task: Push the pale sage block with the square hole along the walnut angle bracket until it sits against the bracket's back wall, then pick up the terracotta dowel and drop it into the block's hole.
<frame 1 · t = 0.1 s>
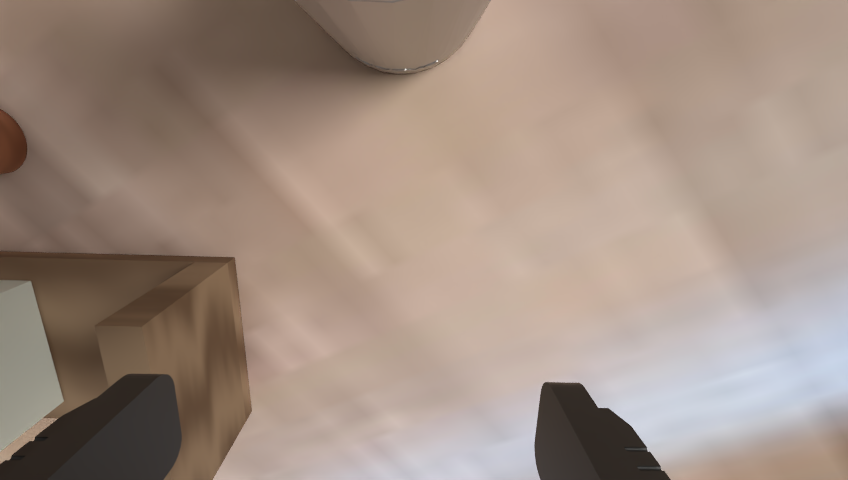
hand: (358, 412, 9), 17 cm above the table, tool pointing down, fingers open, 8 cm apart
walnut angle bracket: (59, 335, 27), on the table
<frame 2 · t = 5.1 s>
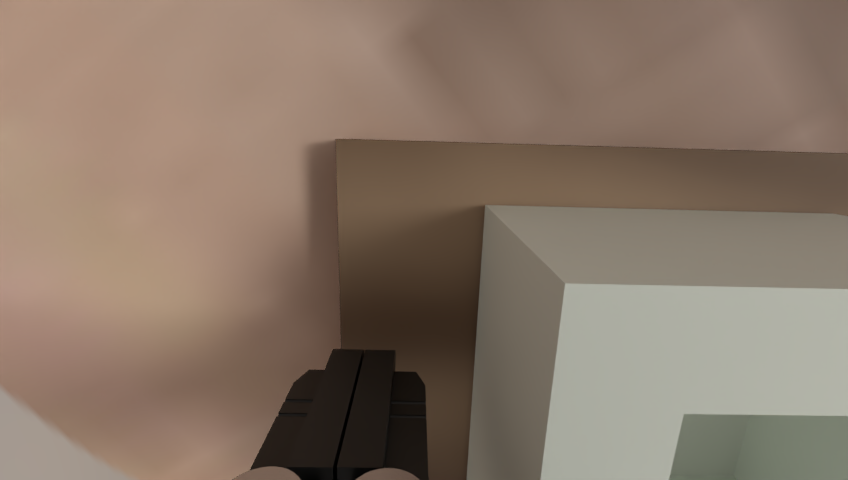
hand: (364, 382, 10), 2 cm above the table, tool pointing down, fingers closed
hole block: (700, 437, 8), point 4 cm above the table, slide at 10.0 cm, touching gripper
walnut angle bracket: (748, 348, 12), on the table
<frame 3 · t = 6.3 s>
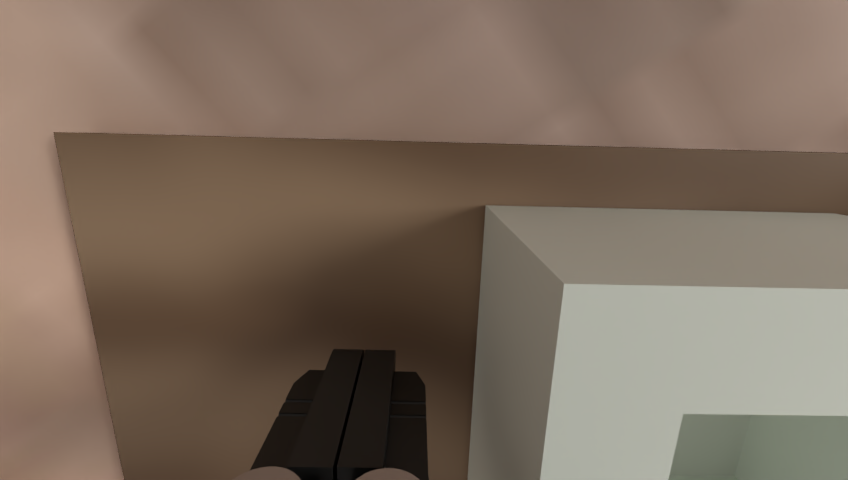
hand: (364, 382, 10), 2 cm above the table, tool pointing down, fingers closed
hole block: (701, 437, 8), point 4 cm above the table, slide at 3.2 cm, touching gripper
walnut angle bracket: (536, 345, 12), on the table
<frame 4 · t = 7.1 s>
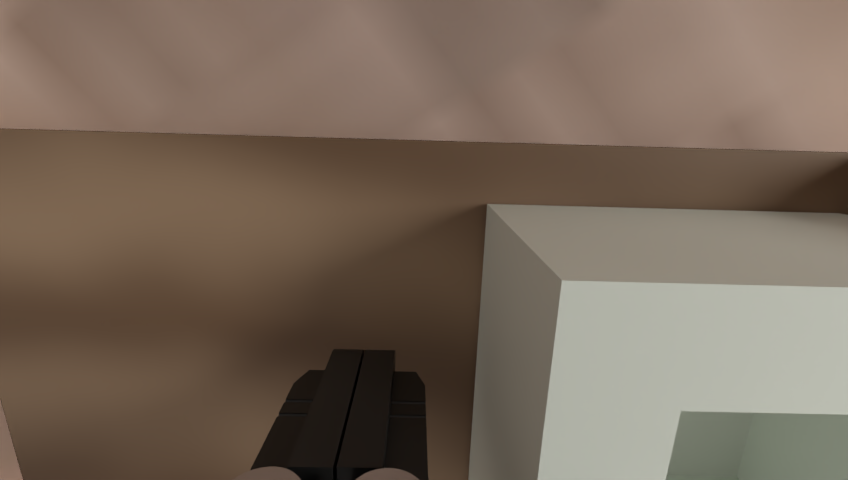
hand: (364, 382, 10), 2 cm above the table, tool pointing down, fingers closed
hole block: (701, 437, 8), point 4 cm above the table, slide at 0.0 cm, touching gripper
walnut angle bracket: (431, 341, 12), on the table
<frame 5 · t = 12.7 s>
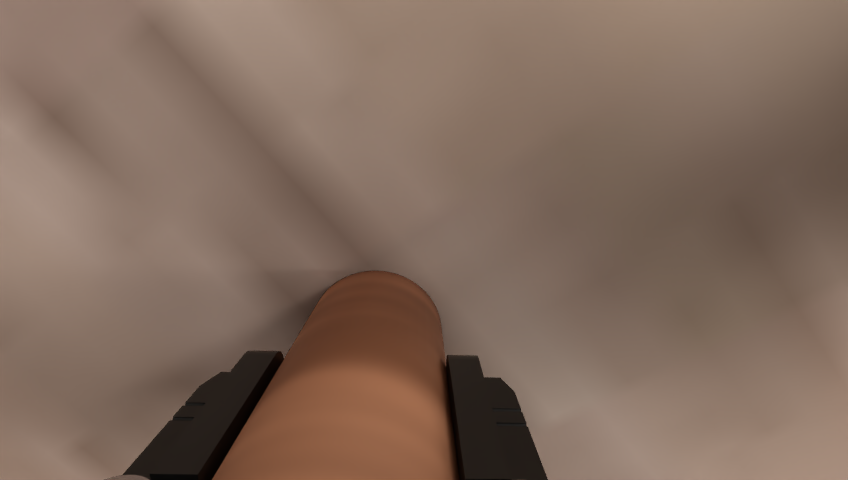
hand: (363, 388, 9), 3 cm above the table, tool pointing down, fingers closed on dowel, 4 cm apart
dowel: (376, 332, 12), on the table, touching gripper
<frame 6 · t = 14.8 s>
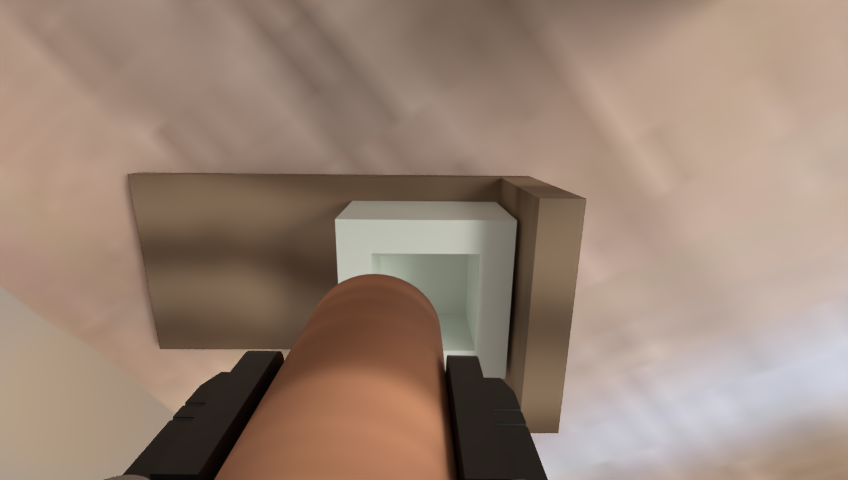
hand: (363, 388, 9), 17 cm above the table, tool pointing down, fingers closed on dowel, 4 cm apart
hole block: (424, 284, 23), point 4 cm above the table, slide at 0.0 cm
walnut angle bracket: (339, 263, 27), on the table
dowel: (375, 335, 12), point 15 cm above the table, touching gripper
when the fingers open (7 cm above the table, at t = 17.3 s): dowel drops 3 cm, resting on hole block.
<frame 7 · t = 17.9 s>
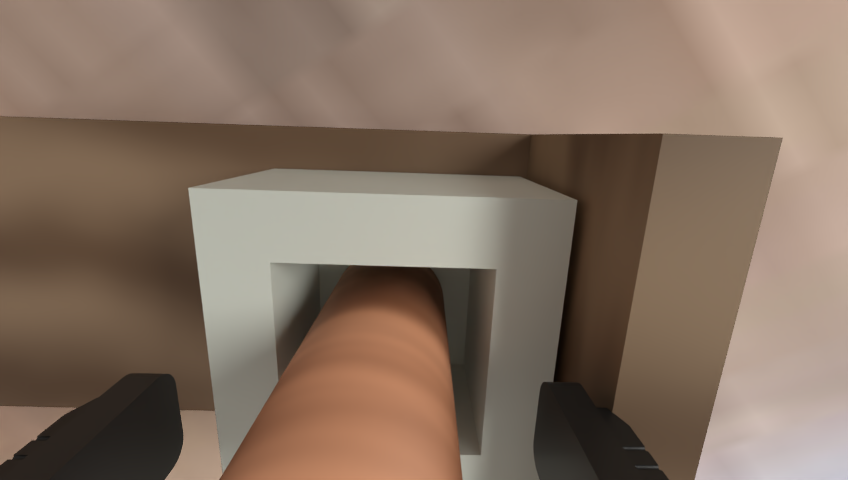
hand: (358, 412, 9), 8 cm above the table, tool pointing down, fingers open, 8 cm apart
hole block: (390, 318, 13), point 4 cm above the table, slide at 0.0 cm, touching dowel
walnut angle bracket: (261, 273, 17), on the table
dowel: (389, 301, 15), point 2 cm above the table, touching hole block
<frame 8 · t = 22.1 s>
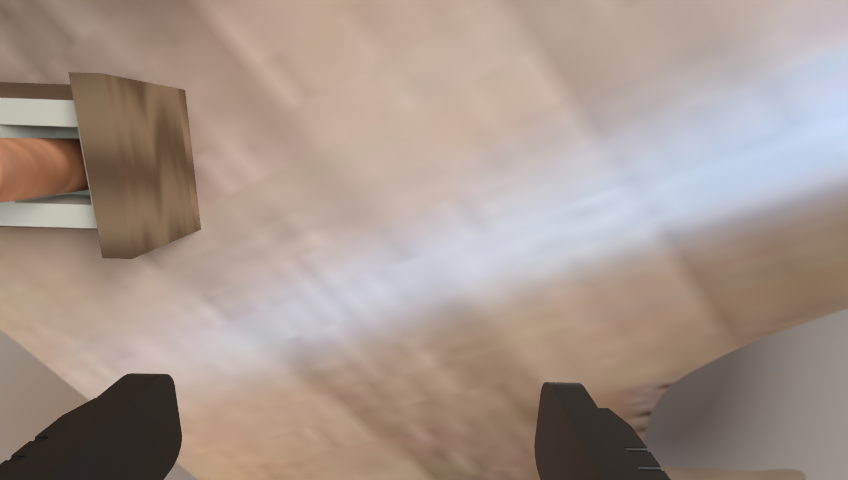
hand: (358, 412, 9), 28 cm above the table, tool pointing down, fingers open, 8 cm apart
hole block: (77, 163, 31), point 4 cm above the table, slide at 0.0 cm, touching dowel
walnut angle bracket: (47, 158, 34), on the table
dowel: (93, 163, 32), point 2 cm above the table, touching hole block
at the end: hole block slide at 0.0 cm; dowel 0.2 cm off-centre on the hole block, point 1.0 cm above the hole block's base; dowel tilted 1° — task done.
